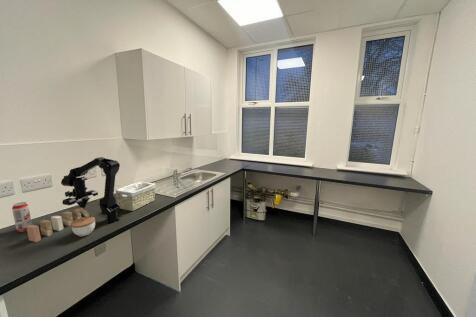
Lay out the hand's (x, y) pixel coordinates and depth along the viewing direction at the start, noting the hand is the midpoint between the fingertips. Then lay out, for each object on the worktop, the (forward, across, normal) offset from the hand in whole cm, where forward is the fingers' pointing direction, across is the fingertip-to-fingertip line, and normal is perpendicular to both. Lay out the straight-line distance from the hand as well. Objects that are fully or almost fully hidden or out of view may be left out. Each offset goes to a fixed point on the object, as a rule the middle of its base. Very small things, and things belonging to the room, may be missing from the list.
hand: (82, 209), depth 128 cm
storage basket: (+6, -27, +18) cm, 33 cm away
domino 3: (+6, +10, 0) cm, 11 cm away
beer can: (+6, +21, -18) cm, 28 cm away
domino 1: (+6, +20, 0) cm, 21 cm away
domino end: (+6, +26, 0) cm, 27 cm away
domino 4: (+5, +4, 0) cm, 7 cm away
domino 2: (+6, +15, 0) cm, 16 cm away
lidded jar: (+6, +14, +19) cm, 24 cm away
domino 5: (+5, -1, 0) cm, 5 cm away
